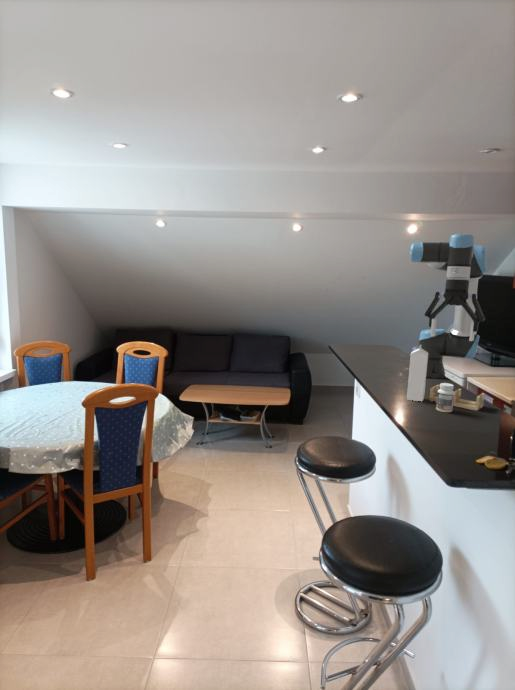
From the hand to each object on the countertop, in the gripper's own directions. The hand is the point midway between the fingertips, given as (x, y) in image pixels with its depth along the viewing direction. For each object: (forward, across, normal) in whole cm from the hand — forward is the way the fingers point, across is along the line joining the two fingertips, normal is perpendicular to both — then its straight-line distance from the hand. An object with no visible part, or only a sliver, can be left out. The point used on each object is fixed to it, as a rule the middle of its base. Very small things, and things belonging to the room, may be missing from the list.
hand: (451, 338), depth 162 cm
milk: (+27, -14, +7) cm, 31 cm away
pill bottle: (+27, 0, 0) cm, 27 cm away
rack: (+27, 0, +13) cm, 30 cm away
